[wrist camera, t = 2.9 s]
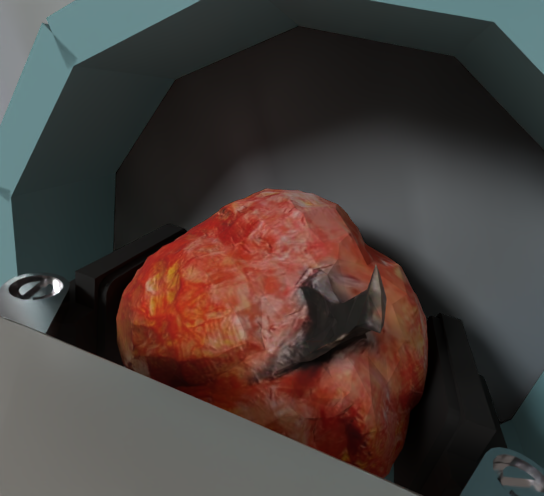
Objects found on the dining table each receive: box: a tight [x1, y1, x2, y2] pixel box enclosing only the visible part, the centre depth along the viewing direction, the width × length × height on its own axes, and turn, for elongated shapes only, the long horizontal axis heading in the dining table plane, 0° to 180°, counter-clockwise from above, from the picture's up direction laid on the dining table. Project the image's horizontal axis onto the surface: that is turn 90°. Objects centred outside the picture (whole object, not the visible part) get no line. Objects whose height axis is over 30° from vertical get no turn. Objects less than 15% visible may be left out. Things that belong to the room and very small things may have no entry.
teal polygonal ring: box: [0, 0, 544, 483], centre depth 11 cm, size 17×17×4 cm
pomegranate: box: [116, 188, 428, 478], centre depth 10 cm, size 7×7×10 cm
